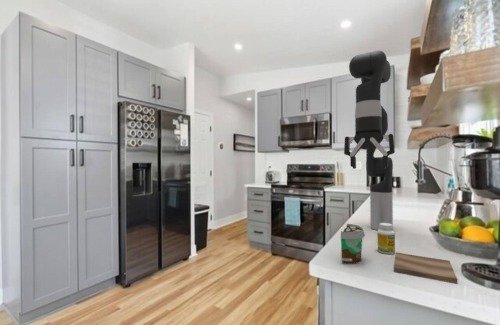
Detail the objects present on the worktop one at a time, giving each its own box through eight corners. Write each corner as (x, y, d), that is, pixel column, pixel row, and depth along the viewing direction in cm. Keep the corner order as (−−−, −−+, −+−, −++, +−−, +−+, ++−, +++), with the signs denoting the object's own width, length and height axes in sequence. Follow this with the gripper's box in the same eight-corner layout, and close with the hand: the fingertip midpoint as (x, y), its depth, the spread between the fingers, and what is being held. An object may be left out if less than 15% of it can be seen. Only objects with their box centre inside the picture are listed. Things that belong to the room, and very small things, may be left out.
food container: (363, 268, 74) (362, 234, 74) (340, 264, 77) (340, 231, 77) (366, 255, 85) (366, 225, 85) (347, 252, 88) (346, 223, 88)
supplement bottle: (382, 248, 92) (382, 221, 92) (398, 252, 87) (397, 224, 87) (374, 251, 89) (374, 223, 89) (389, 255, 84) (389, 226, 84)
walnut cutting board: (395, 256, 84) (395, 252, 84) (449, 264, 76) (449, 260, 76) (393, 271, 72) (393, 267, 72) (457, 283, 64) (457, 278, 65)
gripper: (394, 116, 79) (395, 168, 79) (346, 120, 87) (347, 168, 87) (393, 112, 73) (394, 168, 73) (341, 117, 81) (342, 168, 81)
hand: (368, 168), depth 80 cm, fingers open, 8 cm apart
